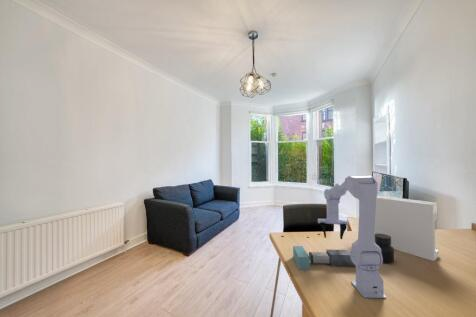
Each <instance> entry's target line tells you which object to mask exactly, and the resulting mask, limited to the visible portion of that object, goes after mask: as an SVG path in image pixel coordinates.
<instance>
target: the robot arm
mask: <svg viewBox="0 0 476 317" xmlns="http://www.w3.org/2000/svg"><path fill="white" fill-rule="evenodd" d="M323 191H324V193H323V195H324V199H325V200H326V218H317V223H318V224H320V227H321V229H322V232H323V236H324V239H326V238H327V234H326V232H327V231H326V230H327V227H326V225H327V224H329V225H338V226H339V238H340V240H343V237H344V233H345V231H346V230H347V228H348V226H349V225H350V224H349V221H348V220H342V219H340V216H339V212H340V210H339V204H340V200H341V197H342V196H344V195H346V194H347V192H349V193H350V194H351V196H353V197H354V198H355V199H357V200H358V202H359V201H360V205H359V204H358V212H359V213H358V232H357V234H358V235H357V236H358V237H357V239H356V240H355V241H353V242H352V243H351V249H349V250H350V258H351V260H352V262H353V263H354V264H355V267H354V268H355V280H351V284H352V285H353V286H354V287H355V289H356V290H357V291H358V292H359V293H360V294H361V296H362V297H363V298H369V299H374V298H375V299H387V296H386V295H385V294H384V279H383V278H382V276H381V275H380V274H379V271H378V269H380V266H382V264H384V263H383V257H382V254H381V248H380V247H379V246H378V245H377V244H376V243H374V235H375V214H376V197H377V196H378V181H377V180H376V179H375V177H373V176H372V175H367V176H366V175H363V176H362V175H361V176H359V175H355V176H352V175H348V176H346V177H345V178H344V181H343V182H342V183H335V185H334V186H331V188H325V190H323Z"/></svg>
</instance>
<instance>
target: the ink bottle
mask: <svg viewBox="0 0 476 317" xmlns="http://www.w3.org/2000/svg"><path fill="white" fill-rule="evenodd" d="M375 243H376V244H377V245H378V246H379V247H380V248H381V254H382V257H383V263H382V264H393V263H394V264H395V249H394V248H393V247H392V246H391V237H390V236H388V235H385V234H375Z"/></svg>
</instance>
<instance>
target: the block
mask: <svg viewBox="0 0 476 317" xmlns="http://www.w3.org/2000/svg"><path fill="white" fill-rule="evenodd" d="M359 205H360V201H359V200H358V206H359ZM438 216H439V214H438V202H435V201H434V202H433V201H432V202H431V201H425V200H419V199H408V198H401V197H391V196H384V195H377V197H376V214H375V234H385V235H388V236H390V237H391V246H392V247H393V248H394V250H396V251H399V252H403V253H407V254H410V255H413V256H416V257H419V258H423V259H425V260H428V261H433V262H435V261H436V260H437V259H438V258H439V252H440V251H439V249H436V224H435V223H436V221H438V219H439V218H438ZM374 243H375V235H374Z"/></svg>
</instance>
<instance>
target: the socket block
mask: <svg viewBox="0 0 476 317" xmlns="http://www.w3.org/2000/svg"><path fill="white" fill-rule="evenodd" d="M292 254H293V255H292V256H293V257H292V258H293V259H294V262H295V264H296V266H297V268H298V269H299V271H300V270H302V271H303V270H310V264H311V262H310V260H309V253H308V252H307V251H306V250H305V247H304V246H303V245H293V246H292ZM310 271H311V270H310Z"/></svg>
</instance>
